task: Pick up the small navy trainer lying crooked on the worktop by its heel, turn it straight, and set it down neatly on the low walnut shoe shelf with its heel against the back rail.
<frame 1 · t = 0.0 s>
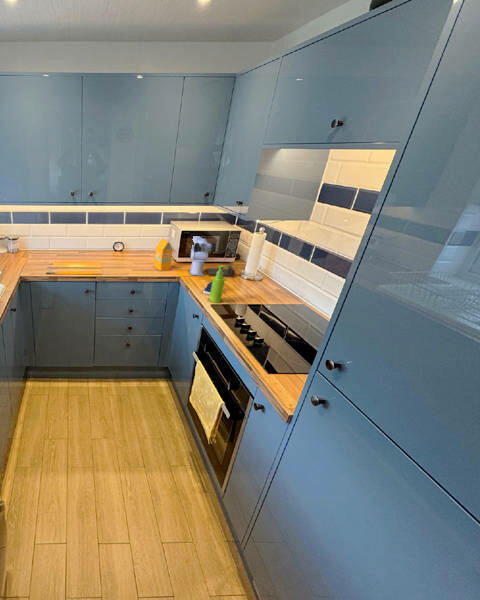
hand: (207, 250, 189), 22 cm above the countertop, tool horizontal, fingers open, 7 cm apart
trainer: (211, 291, 190), on the countertop
orange juice: (161, 268, 225), on the countertop
soap dispenser: (215, 300, 179), on the countertop
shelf: (219, 273, 215), on the countertop
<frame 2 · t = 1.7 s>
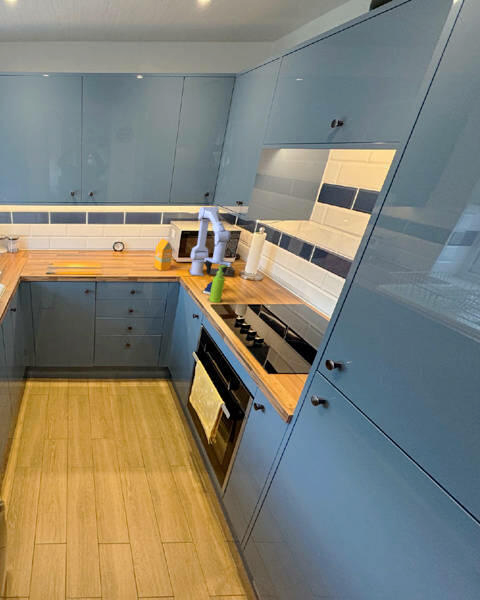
hand: (215, 275, 187), 9 cm above the countertop, tool pointing down, fingers open, 7 cm apart
nothing on the countertop moved.
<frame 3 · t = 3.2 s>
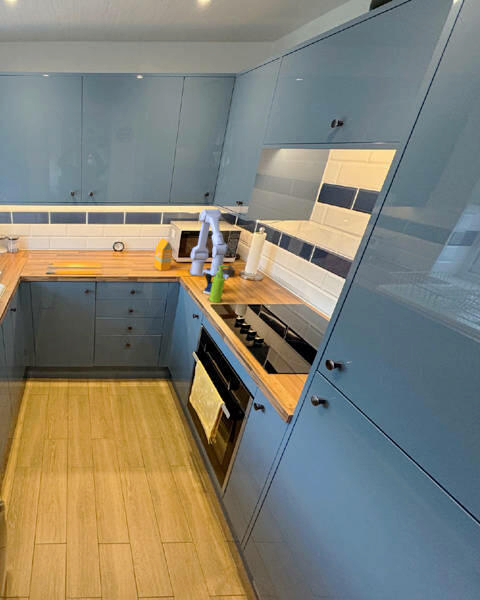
hand: (212, 287, 190), 2 cm above the countertop, tool pointing down, fingers closed on trainer, 4 cm apart
trainer: (211, 291, 190), on the countertop, touching gripper
everything else where it was.
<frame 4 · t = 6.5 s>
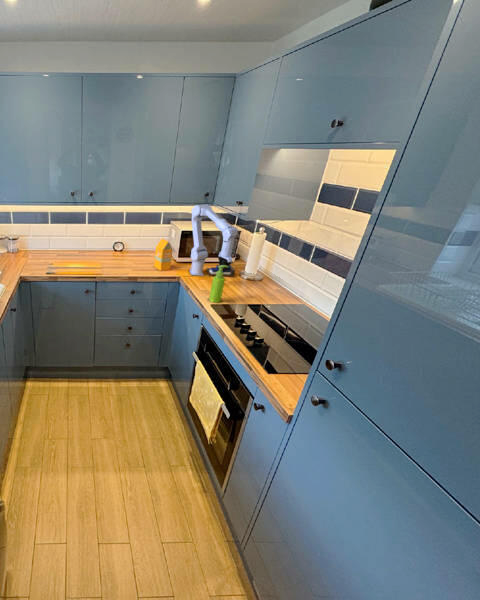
hand: (222, 269, 196), 9 cm above the countertop, tool pointing down, fingers closed on trainer, 4 cm apart
trainer: (219, 272, 197), point 7 cm above the countertop, touching gripper
everything else where it was.
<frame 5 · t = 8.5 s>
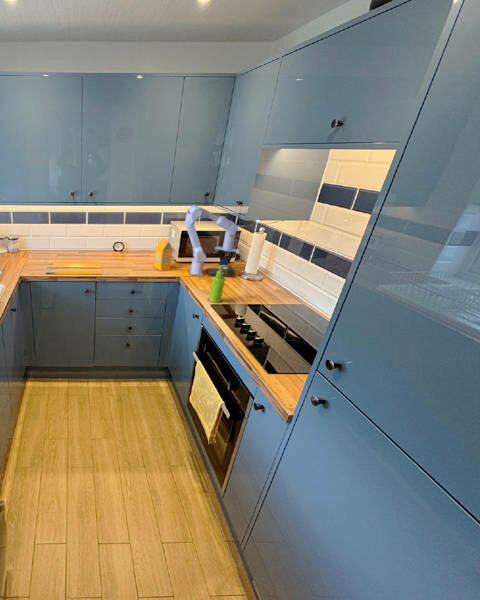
hand: (224, 262, 211), 8 cm above the countertop, tool pointing down, fingers closed on trainer, 4 cm apart
trainer: (223, 265, 211), point 6 cm above the countertop, touching gripper
everything else where it was.
when the fingers open (3 cm above the countertop, at t = 10.1 s): trainer stays where it is, resting on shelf.
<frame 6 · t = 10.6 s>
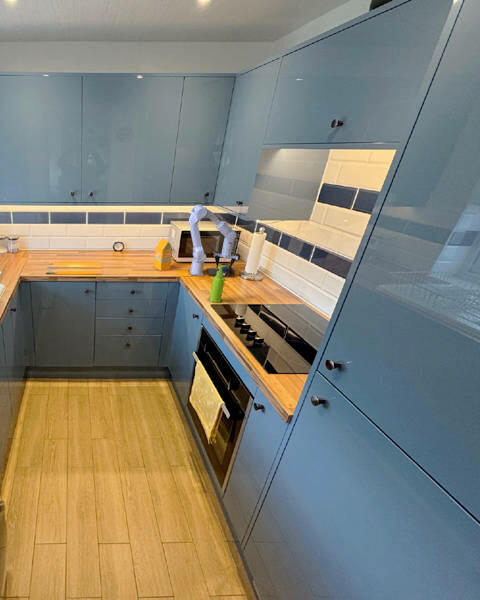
hand: (223, 268, 213), 4 cm above the countertop, tool pointing down, fingers open, 7 cm apart
trainer: (222, 272, 213), point 1 cm above the countertop, touching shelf
everything else where it was.
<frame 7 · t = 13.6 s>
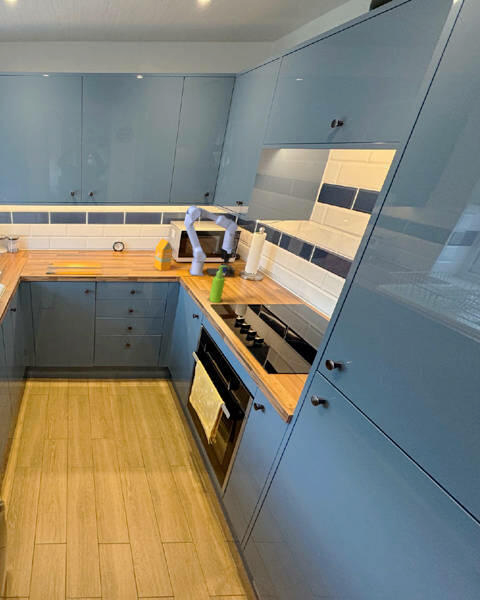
hand: (224, 261, 211), 9 cm above the countertop, tool pointing down, fingers open, 7 cm apart
nothing on the countertop moved.
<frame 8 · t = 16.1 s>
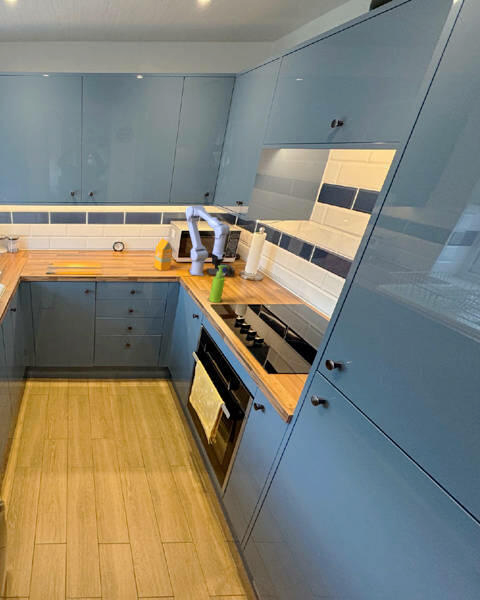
hand: (215, 266, 200), 9 cm above the countertop, tool pointing down, fingers open, 7 cm apart
nothing on the countertop moved.
at the end: trainer 1.9 cm off-centre on the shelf, point 1.5 cm above the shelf's base; trainer tilted 0°; the gripper is holding nothing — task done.
